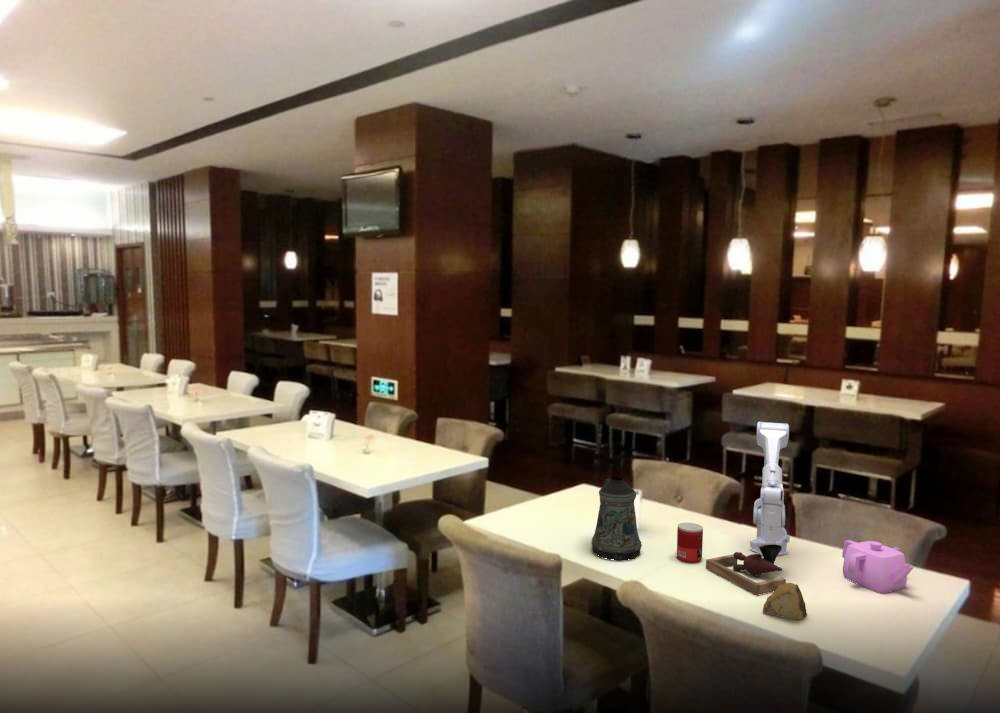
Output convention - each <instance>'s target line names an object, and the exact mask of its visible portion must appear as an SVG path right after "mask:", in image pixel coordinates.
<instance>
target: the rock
mask: <svg viewBox="0 0 1000 713" xmlns="http://www.w3.org/2000/svg"><path fill="white" fill-rule="evenodd" d="M771 593H772V594H770V595H769V596H767V598H766V601H765V602H764V603H763V607H762V613H763V614H766V615H771V616H776V615H778V616H777V617H782V616H783V618H787V617H790V618H789V619H795V620H803V619H805V618H806V617H807V615H808V613H807V607H806V602H805V600H804V597H803V593H802V591H801V589H800V586H799V584H795V583H792V582H786V583H785V584H780V585H779V587H778V588H777V589H776V590H775V591H774V592H771Z"/></svg>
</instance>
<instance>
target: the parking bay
mask: <svg viewBox="0 0 1000 713" xmlns="http://www.w3.org/2000/svg"><path fill="white" fill-rule="evenodd" d="M736 564H738V559H736V558H734V553H733V554H727V555H723V556H717V557H713V558H708V559H705V569H706V570H707V571H709V572H711V573H713V574H715V575H716V574H717V576H719V578H722V579H724V580H726V581H728V582H729V581H730V583H731V584H733V585H735V586H737V587H739V588H741V589H742V588H743V590H744V589H745V591H746V592H748V593H750V594H752V595H754V596H755V595H757V596H760V595H759V594H762V595H764V594H763V593H766V594H769V593H768V592H770V593H773V592H772V591H775V590H776V589H777V588H778V587H779V585H780V584H785V583H787V579H786V578H785V577H783V576H781V577H777V578H773V579H769V580H767V579H766V580H763V581H758V582H756V581H754V580H752V579H750V578H748V577H746V576H744V575H742V574H740V573H738V572H737V571H735V570H734V569H733V570H732V569H730V568H729V567H733V566H734V565H736Z"/></svg>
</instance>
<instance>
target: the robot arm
mask: <svg viewBox="0 0 1000 713" xmlns="http://www.w3.org/2000/svg"><path fill="white" fill-rule="evenodd" d="M789 425H790V424H788V422H787V423H781V422H765V421H758V422H757V424H756V443H757V446H760V447H761V448H762V450H763V454H764V464H763V465H764V466H763V467H762V480H761V481H762V482H761V483H762V484H761V488H760V497H759V498H757V499H756V500H755V501H754V505H753V520H752V523H753V524H754V525H756V538H755V539H753V540H749V541H750V542H749V548H750V549H749V550H750V551H751V552H754V553H755V554H760V555H761V556H762V558H763V559H765V560H767V561H769V562H771V563H773V564H774V565H775V564H776V559H777V557H778V556H779V557H780V556H783V555H788V554H789V552H788V551H787V546H788V543H790V541H791V539H790V538H791V537H790V535H789V534H788V532H787V530H786V528H785V525H786V506H785V504H784V500H785V498H784V496H785V491H784V487H783V486H784V484H783V469H782V468H781V467H780V465H779V458H780V451H781V450H782V449H783V448H787V445H788V443H789V438H790V426H789Z"/></svg>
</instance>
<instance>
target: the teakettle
mask: <svg viewBox="0 0 1000 713" xmlns="http://www.w3.org/2000/svg"><path fill="white" fill-rule="evenodd" d="M841 557H842V559H843V563H842V574H843V577H844V578H845V579H846V578H847V579H846V580H848V579H849V580H848V581H850V580H851V581H850V582H852V581H853V582H852V583H854V582H855V584H856V583H857V584H856V585H858V584H859V585H858V586H860V585H861V587H862V586H863V587H862V588H866V589H867V588H868V589H867V590H870V589H871V590H870V591H872V590H873V592H875V591H876V593H878V592H879V594H886V593H885V592H887V593H891V592H890V591H892V592H895V590H896V591H899V590H898V589H900V590H903V589H905V587H906V585H907V582H908V575H909V574H910V573H911V572H912V570H913V569H914V566H913V565H911V564H910V563H906V558H905V554H904V553H903V552H902V548H899V547H896V546H894V547H889V546H887V545H883V543H881V542H879V541H874V540H873V541H872V540H868V541H860V542H856V541H853V540H851V539H847V540H844V542H843V548H842V556H841ZM902 588H903V589H902Z"/></svg>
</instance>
